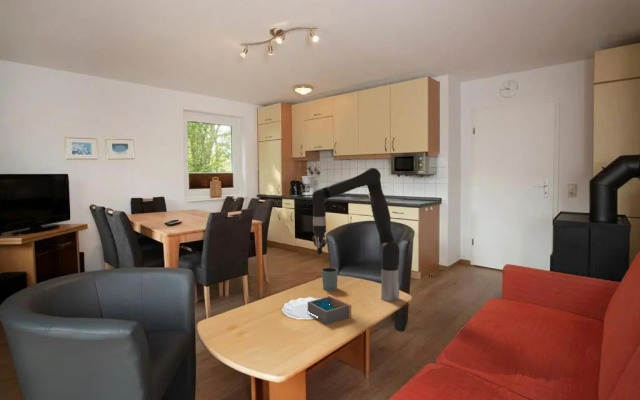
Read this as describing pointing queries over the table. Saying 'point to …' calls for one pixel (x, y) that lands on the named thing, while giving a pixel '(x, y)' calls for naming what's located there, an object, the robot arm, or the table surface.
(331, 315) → the housing
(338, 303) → the tan thin board
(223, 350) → the table surface
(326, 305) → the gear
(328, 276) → the grey green cup
